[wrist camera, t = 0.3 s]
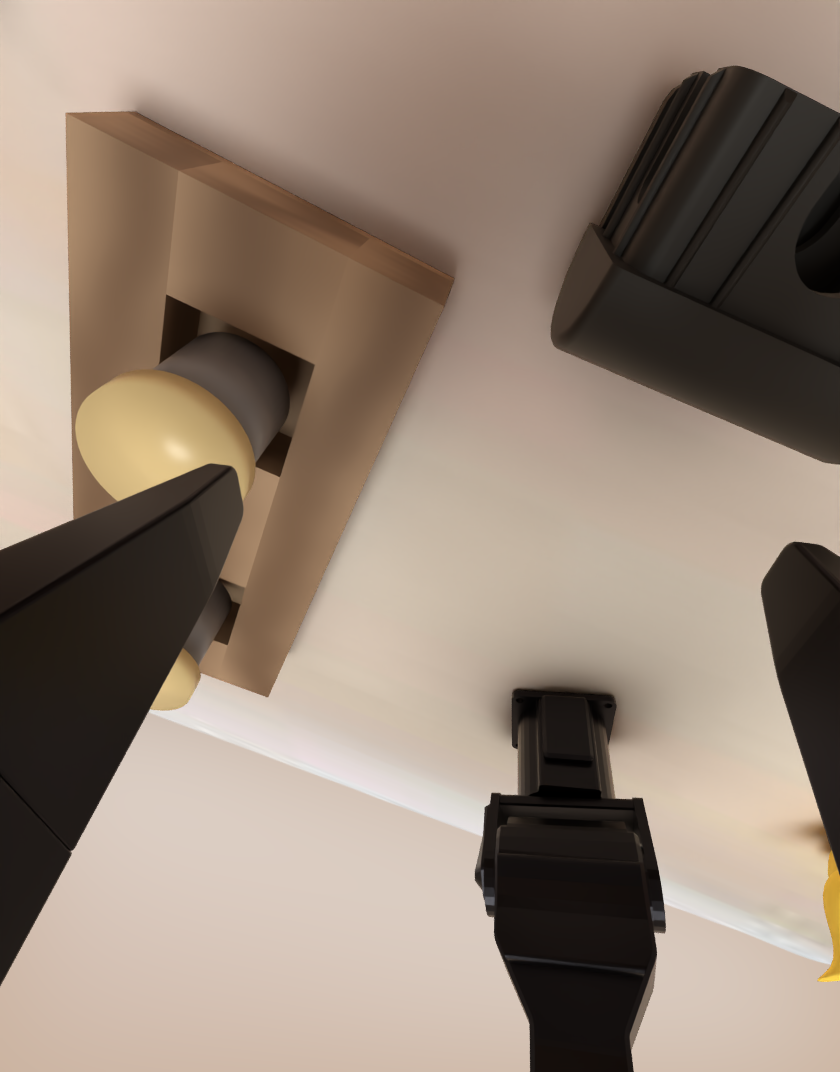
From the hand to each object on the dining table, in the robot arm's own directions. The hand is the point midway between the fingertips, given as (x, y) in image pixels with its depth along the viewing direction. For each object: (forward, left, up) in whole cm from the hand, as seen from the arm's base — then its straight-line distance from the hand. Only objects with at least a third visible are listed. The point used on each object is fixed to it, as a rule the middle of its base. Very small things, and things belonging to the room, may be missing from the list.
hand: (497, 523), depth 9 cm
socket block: (-8, +14, -14) cm, 21 cm away
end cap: (0, -7, -15) cm, 16 cm away
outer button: (-2, +10, -11) cm, 15 cm away
